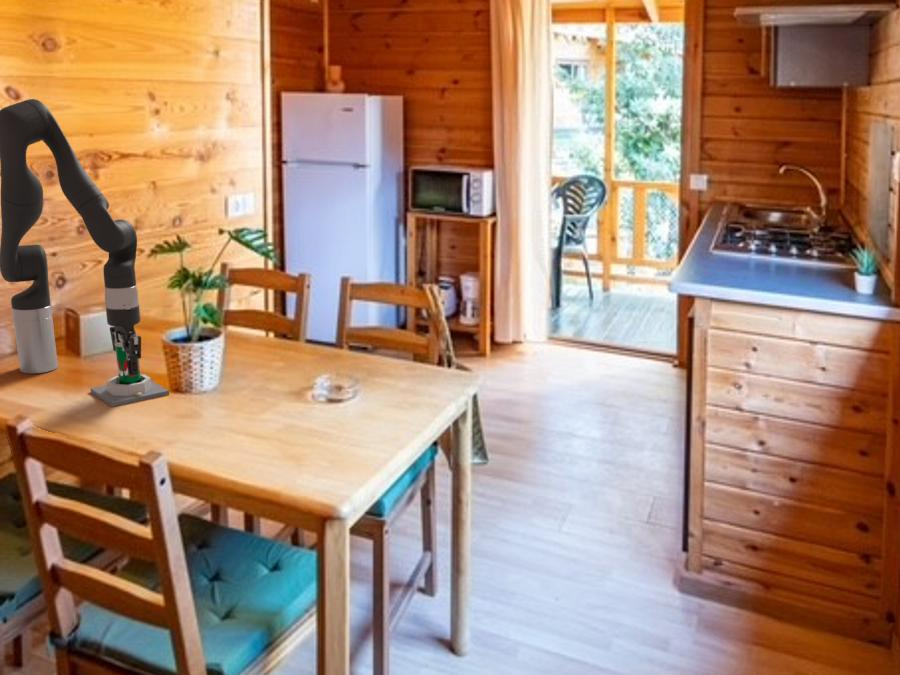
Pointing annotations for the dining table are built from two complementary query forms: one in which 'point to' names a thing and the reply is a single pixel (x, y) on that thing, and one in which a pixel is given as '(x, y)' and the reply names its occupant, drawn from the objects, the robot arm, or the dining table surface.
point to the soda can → (125, 367)
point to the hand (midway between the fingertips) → (128, 371)
